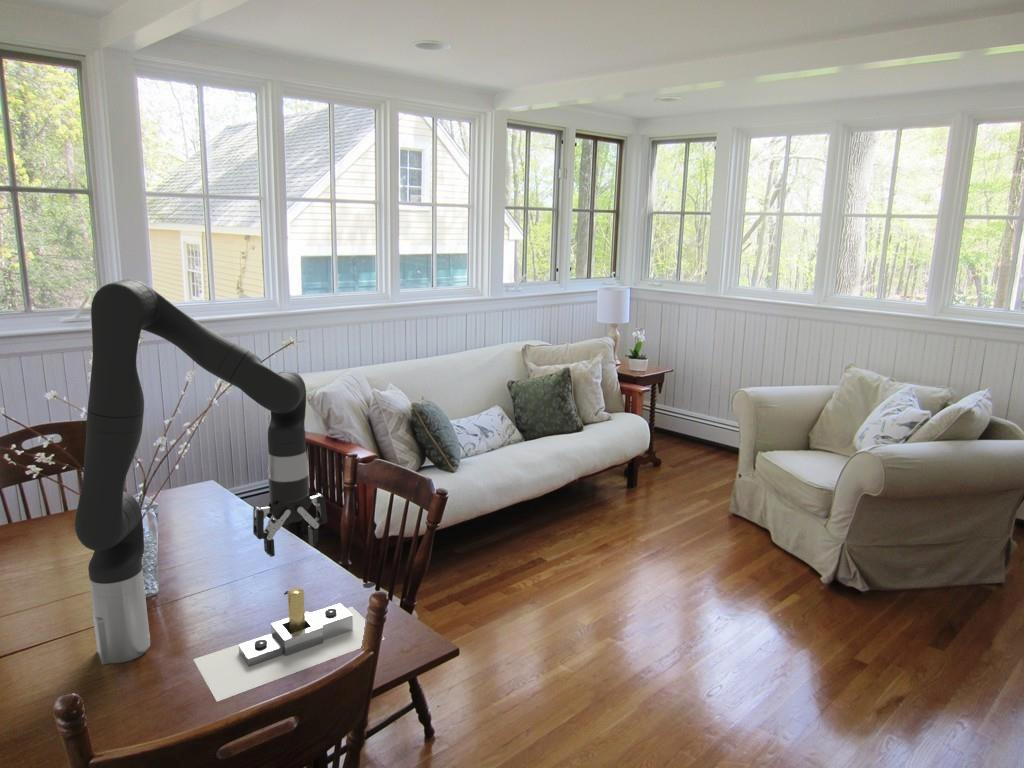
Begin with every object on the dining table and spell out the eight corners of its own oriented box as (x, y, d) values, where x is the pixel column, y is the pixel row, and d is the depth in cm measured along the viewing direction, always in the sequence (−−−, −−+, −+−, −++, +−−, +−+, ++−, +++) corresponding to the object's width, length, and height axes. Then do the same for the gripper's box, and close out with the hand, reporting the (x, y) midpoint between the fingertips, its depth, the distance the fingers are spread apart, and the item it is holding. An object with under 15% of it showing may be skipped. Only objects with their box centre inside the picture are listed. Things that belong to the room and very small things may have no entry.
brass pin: (293, 646, 148) (290, 597, 146) (287, 639, 151) (285, 591, 148) (308, 641, 150) (306, 593, 148) (302, 634, 153) (300, 586, 150)
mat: (217, 704, 131) (216, 701, 131) (193, 661, 144) (193, 659, 144) (385, 641, 152) (385, 638, 152) (351, 608, 164) (351, 606, 164)
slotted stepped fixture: (250, 669, 141) (248, 649, 140) (237, 650, 147) (236, 632, 146) (354, 631, 154) (353, 613, 153) (339, 616, 160) (338, 599, 159)
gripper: (258, 486, 135) (263, 566, 139) (330, 471, 144) (333, 547, 147) (245, 474, 141) (250, 552, 144) (315, 461, 149) (318, 534, 153)
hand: (292, 549), depth 146 cm, fingers open, 8 cm apart
